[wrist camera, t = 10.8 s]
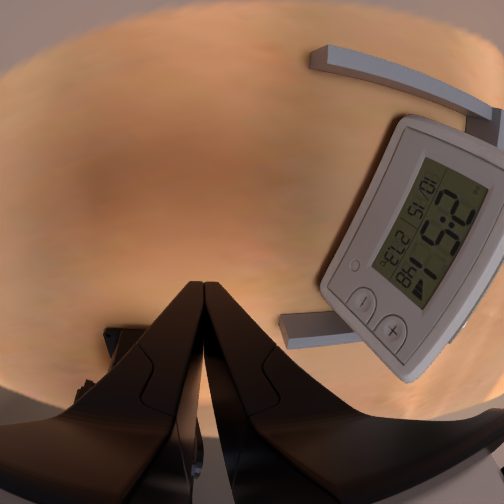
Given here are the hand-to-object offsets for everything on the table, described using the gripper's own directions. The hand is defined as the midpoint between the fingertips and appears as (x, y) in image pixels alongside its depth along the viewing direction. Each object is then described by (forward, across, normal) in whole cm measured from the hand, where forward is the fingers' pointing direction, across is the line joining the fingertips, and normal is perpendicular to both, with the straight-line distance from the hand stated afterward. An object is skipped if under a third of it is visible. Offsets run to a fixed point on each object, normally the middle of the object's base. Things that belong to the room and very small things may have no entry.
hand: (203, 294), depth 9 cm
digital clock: (+12, -14, +1) cm, 18 cm away
